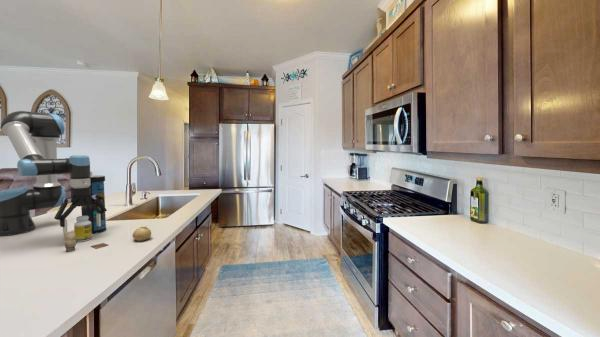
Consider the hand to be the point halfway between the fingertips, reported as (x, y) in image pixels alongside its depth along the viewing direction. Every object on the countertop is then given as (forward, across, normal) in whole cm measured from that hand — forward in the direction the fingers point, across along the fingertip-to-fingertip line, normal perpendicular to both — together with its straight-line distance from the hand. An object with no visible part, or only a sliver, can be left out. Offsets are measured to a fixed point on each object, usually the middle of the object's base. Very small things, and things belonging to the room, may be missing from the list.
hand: (82, 229), depth 129 cm
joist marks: (+5, 0, -5) cm, 7 cm away
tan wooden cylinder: (+5, -9, -12) cm, 15 cm away
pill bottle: (+5, 0, -1) cm, 5 cm away
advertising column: (+6, +9, +10) cm, 15 cm away
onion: (+5, +15, -25) cm, 29 cm away
